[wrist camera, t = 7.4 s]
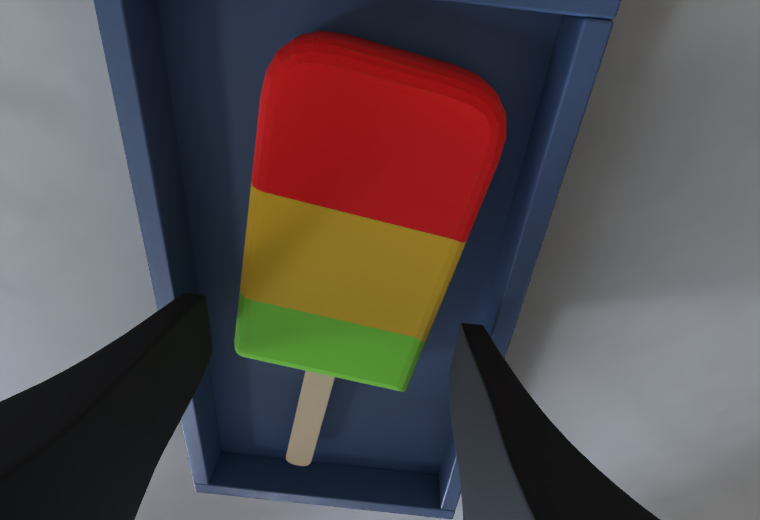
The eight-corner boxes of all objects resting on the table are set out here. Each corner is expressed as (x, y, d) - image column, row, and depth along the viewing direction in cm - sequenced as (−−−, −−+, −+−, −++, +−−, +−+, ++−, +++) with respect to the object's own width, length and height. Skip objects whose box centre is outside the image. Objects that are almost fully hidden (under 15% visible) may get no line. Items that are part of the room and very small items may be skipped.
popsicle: (515, 77, 11) (533, 96, 9) (369, 455, 19) (364, 500, 17) (284, 12, 10) (261, 19, 9) (234, 426, 18) (217, 471, 17)
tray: (449, 473, 20) (452, 519, 18) (213, 447, 20) (195, 492, 18) (591, -18, 10) (627, -16, 8) (132, -69, 10) (76, -77, 8)
